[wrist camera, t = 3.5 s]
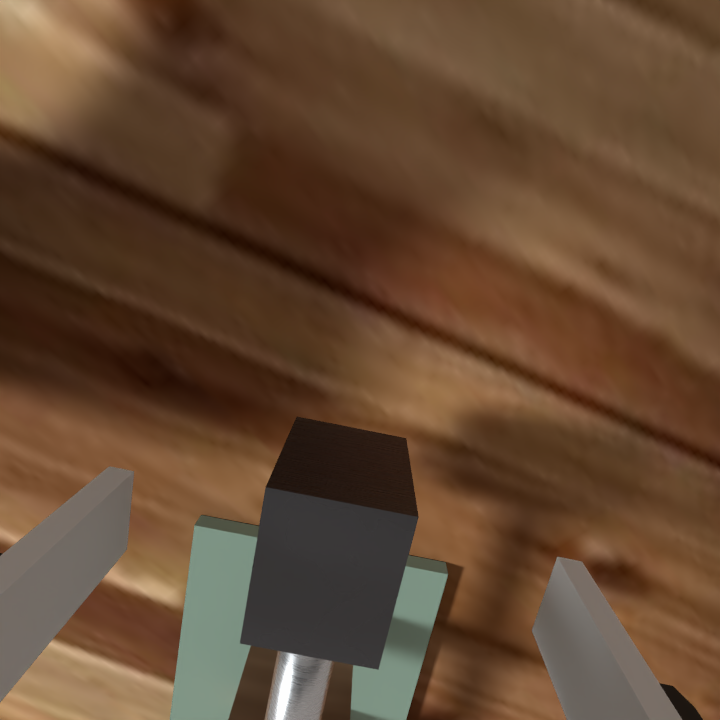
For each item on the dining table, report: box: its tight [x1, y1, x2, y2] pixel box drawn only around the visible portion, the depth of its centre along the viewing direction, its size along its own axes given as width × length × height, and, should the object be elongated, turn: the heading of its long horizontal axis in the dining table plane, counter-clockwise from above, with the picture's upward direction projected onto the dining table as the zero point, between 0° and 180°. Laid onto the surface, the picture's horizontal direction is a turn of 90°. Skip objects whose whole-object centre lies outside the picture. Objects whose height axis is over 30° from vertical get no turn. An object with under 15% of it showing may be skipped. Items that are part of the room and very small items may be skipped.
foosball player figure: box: [228, 646, 353, 720], centre depth 22 cm, size 2×5×11 cm, turn 79°
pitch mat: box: [170, 515, 448, 720], centre depth 29 cm, size 20×14×1 cm
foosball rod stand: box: [240, 417, 418, 720], centre depth 18 cm, size 22×6×16 cm, turn 169°
